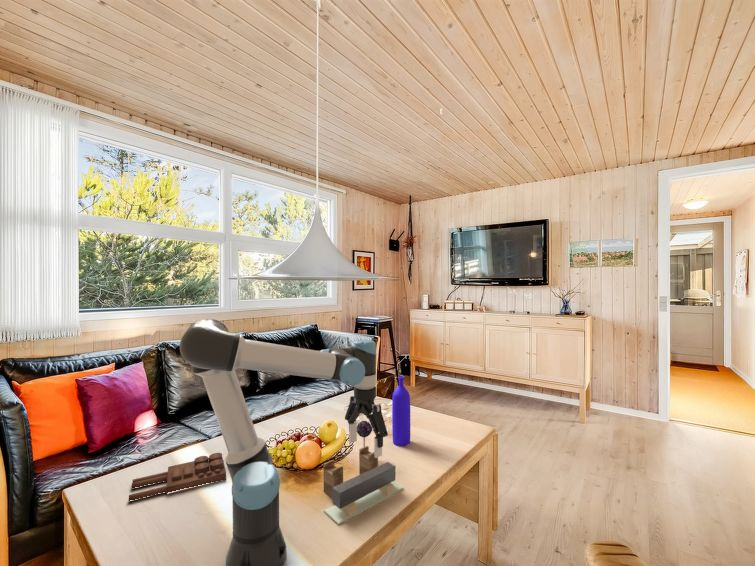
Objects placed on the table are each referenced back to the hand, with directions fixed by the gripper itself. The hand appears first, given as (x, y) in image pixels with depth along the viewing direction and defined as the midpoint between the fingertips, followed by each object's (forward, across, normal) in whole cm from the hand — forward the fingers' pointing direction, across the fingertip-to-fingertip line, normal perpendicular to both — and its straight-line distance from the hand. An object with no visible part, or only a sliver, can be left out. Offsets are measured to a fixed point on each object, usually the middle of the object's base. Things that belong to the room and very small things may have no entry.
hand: (365, 448), depth 119 cm
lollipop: (+17, +23, -18) cm, 34 cm away
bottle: (+17, +22, -39) cm, 48 cm away
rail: (+14, 0, 0) cm, 14 cm away
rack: (+17, +10, -2) cm, 20 cm away
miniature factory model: (+18, +54, +45) cm, 73 cm away
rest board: (+17, 0, 0) cm, 17 cm away
